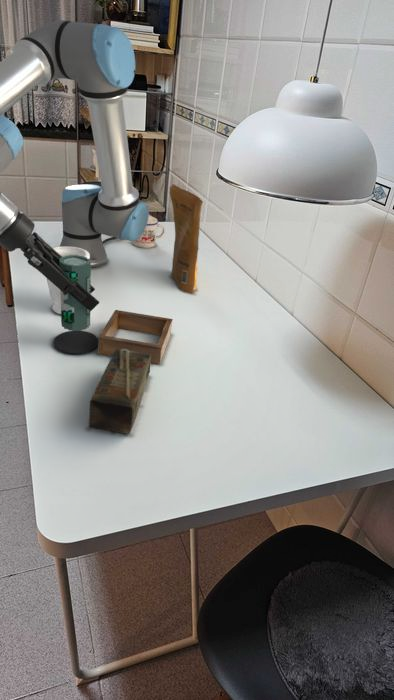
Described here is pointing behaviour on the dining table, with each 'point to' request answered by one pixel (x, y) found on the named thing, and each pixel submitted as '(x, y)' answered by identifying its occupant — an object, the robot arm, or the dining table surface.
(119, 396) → the beverage carton
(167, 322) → the wooden square frame
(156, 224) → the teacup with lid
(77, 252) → the jar
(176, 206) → the pancake mix bag
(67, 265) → the can
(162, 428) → the dining table surface
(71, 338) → the coaster
